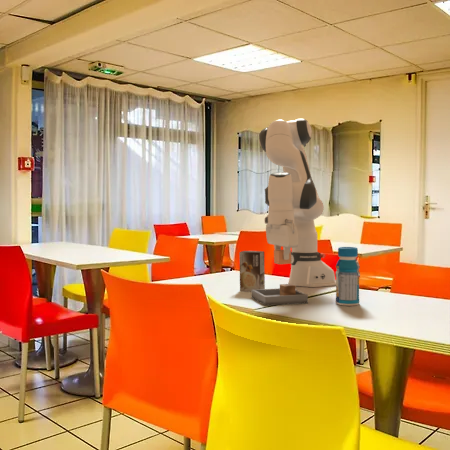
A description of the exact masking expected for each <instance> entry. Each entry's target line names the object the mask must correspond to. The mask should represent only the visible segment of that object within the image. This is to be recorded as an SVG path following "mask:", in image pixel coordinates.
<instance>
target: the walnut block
mask: <svg viewBox="0 0 450 450" xmlns="http://www.w3.org/2000/svg"><path fill="white" fill-rule="evenodd" d="M296 287H297V286H295V285H293V284H288V283H283V284H279V288H280V296H284V295H296V290H297V288H296Z"/></svg>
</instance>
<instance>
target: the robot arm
mask: <svg viewBox="0 0 450 450" xmlns="http://www.w3.org/2000/svg"><path fill="white" fill-rule="evenodd" d="M312 133H313V130H312V127H311V125H310V123H309V122H308V120H306V119H305V118H297V119H295V120H294V119H293V120H288V121H287V120H283V119H276V120H272V122H271V123H270V124H268V127H265V128H263V129H262V130H260V132H259V134H258V135H259V136H258V141H259V142H258V143H259V145H260V147H261V149H262V151H264V152H265V153H266V156H267V158H268V160H269V161H270V162H271V163H273V164H274V165H277V166H279V167H282V172H281V171H279V172H273V173H270V174H269V176H268V182H267V183H268V184H267V186H266V188H264V194H265V195H264V198H265V199H264V200H265V201H264V204H265V205H267V206H268V211H267V213H268V214H267V215H266V216H265V218H264V224H266V225H265V234H266V235H265V237H266V242H267V244H269V245H273V249H274V250H284V254H283V259H284V260H288V259H289V253H290V250H291V264H290V268H291V269H290V273H289V279H288V282H287V284H293V285H295V286H296V287H309V288H319V287H330V286H331V287H332V286H336V275H335V271H334V269H332V267H330V266H329V265H328V264H326V262H324V261H323V260H322V259H325V257H326V253H323V252H318V232H317V230H316V226H315V220H317V219H318V218H319V217H321V216H322V214H323V212H324V209H325V208H324V203H323V201H322V200H321V199H320V196H319V194H318V190H317V187H316V185H315V183H314V180H313V177H312V174H311V171H310V166H309V161H308V157H307V154H306V150H305V148H306V146H307V144H308V143H310V141H311V139H312ZM282 248H283V249H282Z"/></svg>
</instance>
